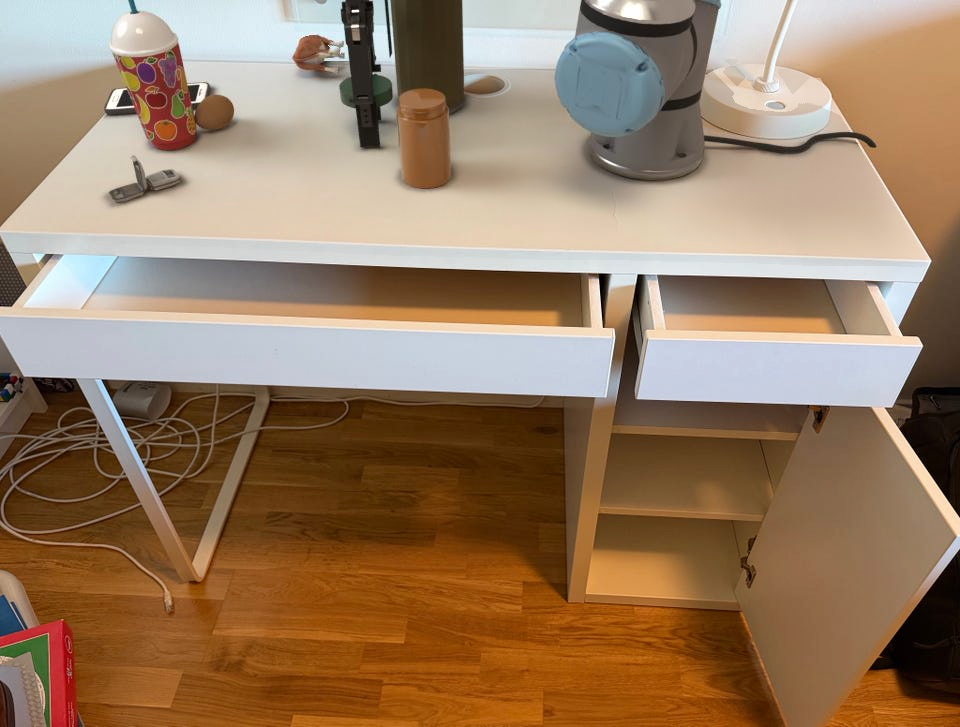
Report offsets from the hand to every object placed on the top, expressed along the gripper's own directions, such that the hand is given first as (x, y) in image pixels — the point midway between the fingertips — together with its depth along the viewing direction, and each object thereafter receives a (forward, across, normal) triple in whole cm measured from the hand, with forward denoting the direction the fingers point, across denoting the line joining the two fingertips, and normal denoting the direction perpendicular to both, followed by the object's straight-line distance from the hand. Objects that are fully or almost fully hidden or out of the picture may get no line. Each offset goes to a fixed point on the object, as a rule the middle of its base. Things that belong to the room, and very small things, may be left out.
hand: (371, 132), depth 106 cm
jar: (0, +12, +8) cm, 14 cm away
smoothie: (+1, 0, -28) cm, 28 cm away
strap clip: (0, +12, -28) cm, 31 cm away
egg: (-2, -6, -20) cm, 21 cm away
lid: (-6, 0, 0) cm, 6 cm away
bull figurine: (-2, -25, -5) cm, 25 cm away
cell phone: (+1, -14, -32) cm, 35 cm away
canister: (+1, -10, +9) cm, 13 cm away
